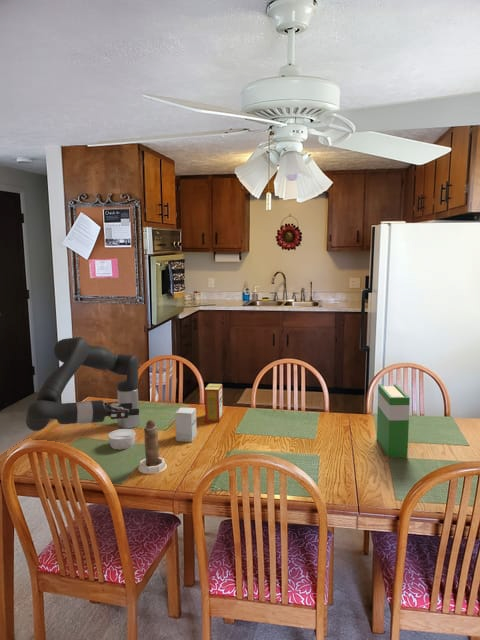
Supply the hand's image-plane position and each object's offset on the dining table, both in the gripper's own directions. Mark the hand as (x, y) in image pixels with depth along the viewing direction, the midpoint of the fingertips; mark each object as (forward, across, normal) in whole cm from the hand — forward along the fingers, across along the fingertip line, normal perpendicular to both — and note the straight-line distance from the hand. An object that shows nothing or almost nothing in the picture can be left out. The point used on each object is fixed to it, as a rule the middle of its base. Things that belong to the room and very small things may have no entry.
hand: (135, 408), depth 179 cm
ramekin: (+4, +29, +23) cm, 38 cm away
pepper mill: (+8, +1, +23) cm, 24 cm away
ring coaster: (+8, +1, +24) cm, 25 cm away
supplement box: (+30, +22, +21) cm, 43 cm away
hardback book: (+98, -30, +16) cm, 103 cm away
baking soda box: (+51, +38, +18) cm, 66 cm away
